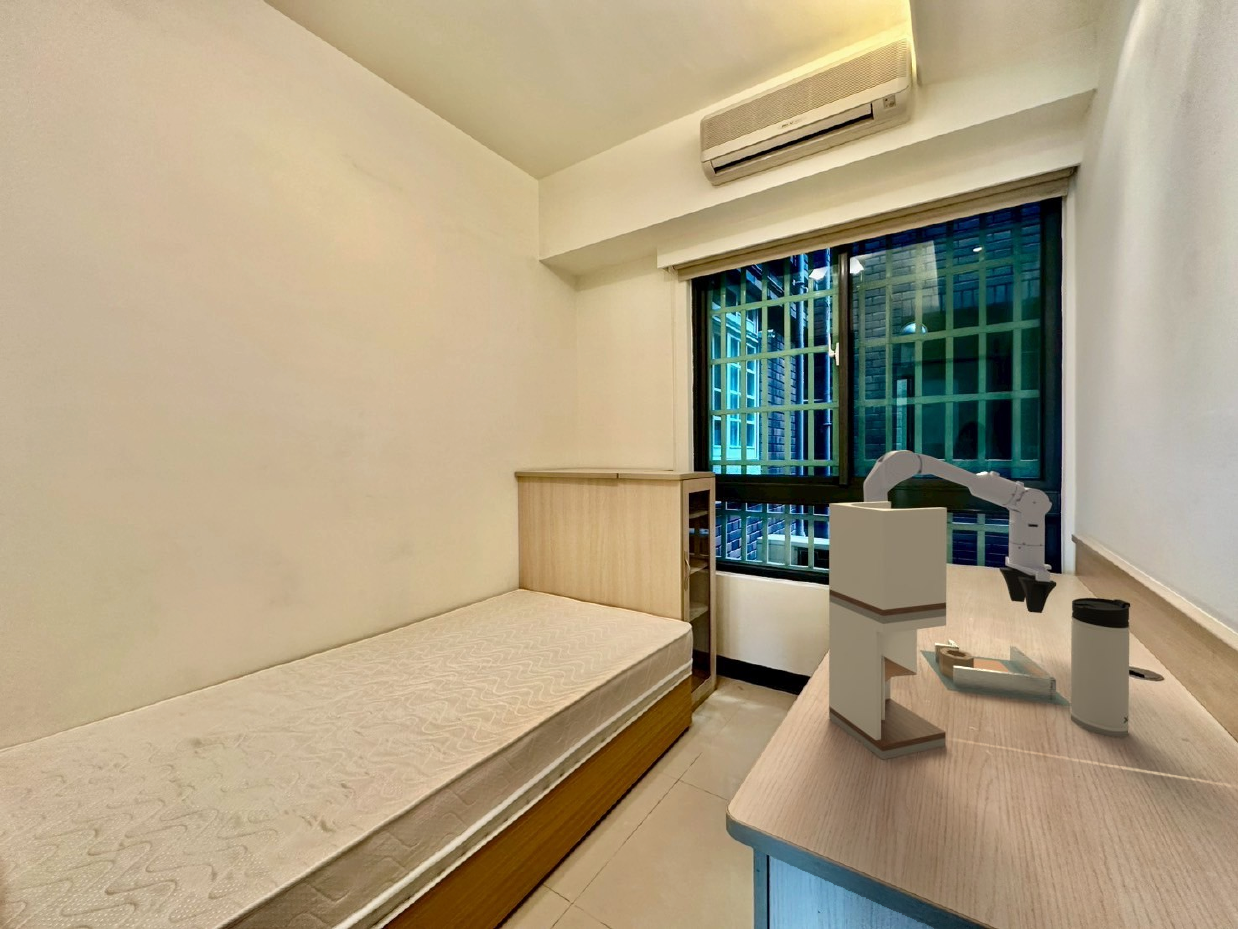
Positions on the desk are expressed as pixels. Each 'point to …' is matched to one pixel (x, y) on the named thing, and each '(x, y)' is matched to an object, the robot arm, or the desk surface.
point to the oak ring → (954, 660)
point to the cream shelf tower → (882, 618)
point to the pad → (989, 665)
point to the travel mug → (1100, 665)
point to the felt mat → (949, 684)
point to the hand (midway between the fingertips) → (1025, 606)
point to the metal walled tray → (1005, 676)
